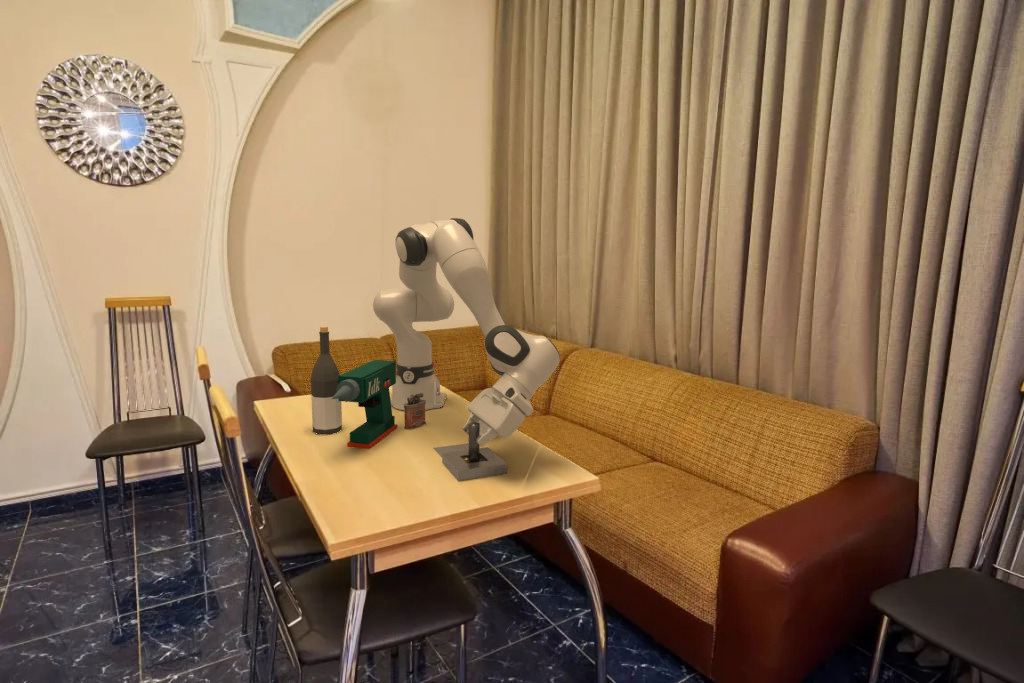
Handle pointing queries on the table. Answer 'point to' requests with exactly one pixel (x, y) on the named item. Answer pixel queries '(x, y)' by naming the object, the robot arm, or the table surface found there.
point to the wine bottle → (325, 390)
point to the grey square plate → (451, 448)
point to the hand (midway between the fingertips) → (471, 437)
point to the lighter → (414, 411)
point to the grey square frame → (474, 464)
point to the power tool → (369, 400)
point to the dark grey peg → (474, 442)
